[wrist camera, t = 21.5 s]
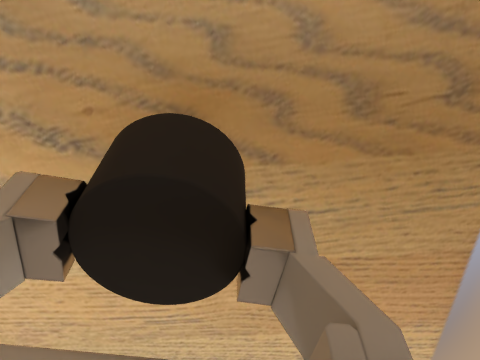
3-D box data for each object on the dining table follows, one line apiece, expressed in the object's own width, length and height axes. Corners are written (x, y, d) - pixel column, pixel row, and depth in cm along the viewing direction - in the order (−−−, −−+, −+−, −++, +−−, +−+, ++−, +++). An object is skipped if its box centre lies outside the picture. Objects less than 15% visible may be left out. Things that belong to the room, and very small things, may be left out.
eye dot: (257, 125, 10) (263, 189, 7) (232, 234, 12) (231, 313, 10) (104, 100, 10) (57, 160, 7) (108, 219, 12) (73, 296, 9)
